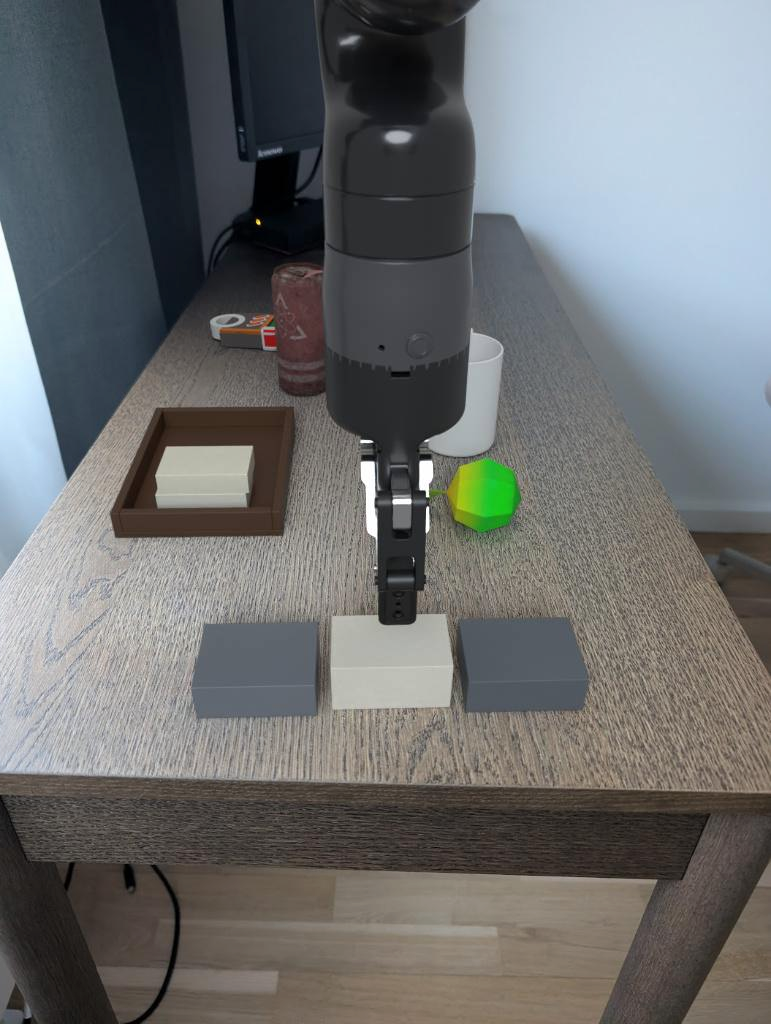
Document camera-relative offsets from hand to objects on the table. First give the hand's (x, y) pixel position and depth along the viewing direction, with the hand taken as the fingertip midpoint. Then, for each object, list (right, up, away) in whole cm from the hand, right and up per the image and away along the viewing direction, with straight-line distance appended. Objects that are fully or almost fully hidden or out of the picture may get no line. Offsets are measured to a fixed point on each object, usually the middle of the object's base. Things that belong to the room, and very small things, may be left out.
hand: (393, 574), depth 49 cm
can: (-10, +19, +44) cm, 49 cm away
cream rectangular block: (0, -8, +6) cm, 10 cm away
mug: (+7, +13, +36) cm, 38 cm away
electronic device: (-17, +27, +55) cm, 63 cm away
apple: (+7, +3, +22) cm, 23 cm away
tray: (-17, +7, +27) cm, 33 cm away
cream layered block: (-17, +5, +23) cm, 29 cm away
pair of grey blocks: (0, -8, +6) cm, 10 cm away
